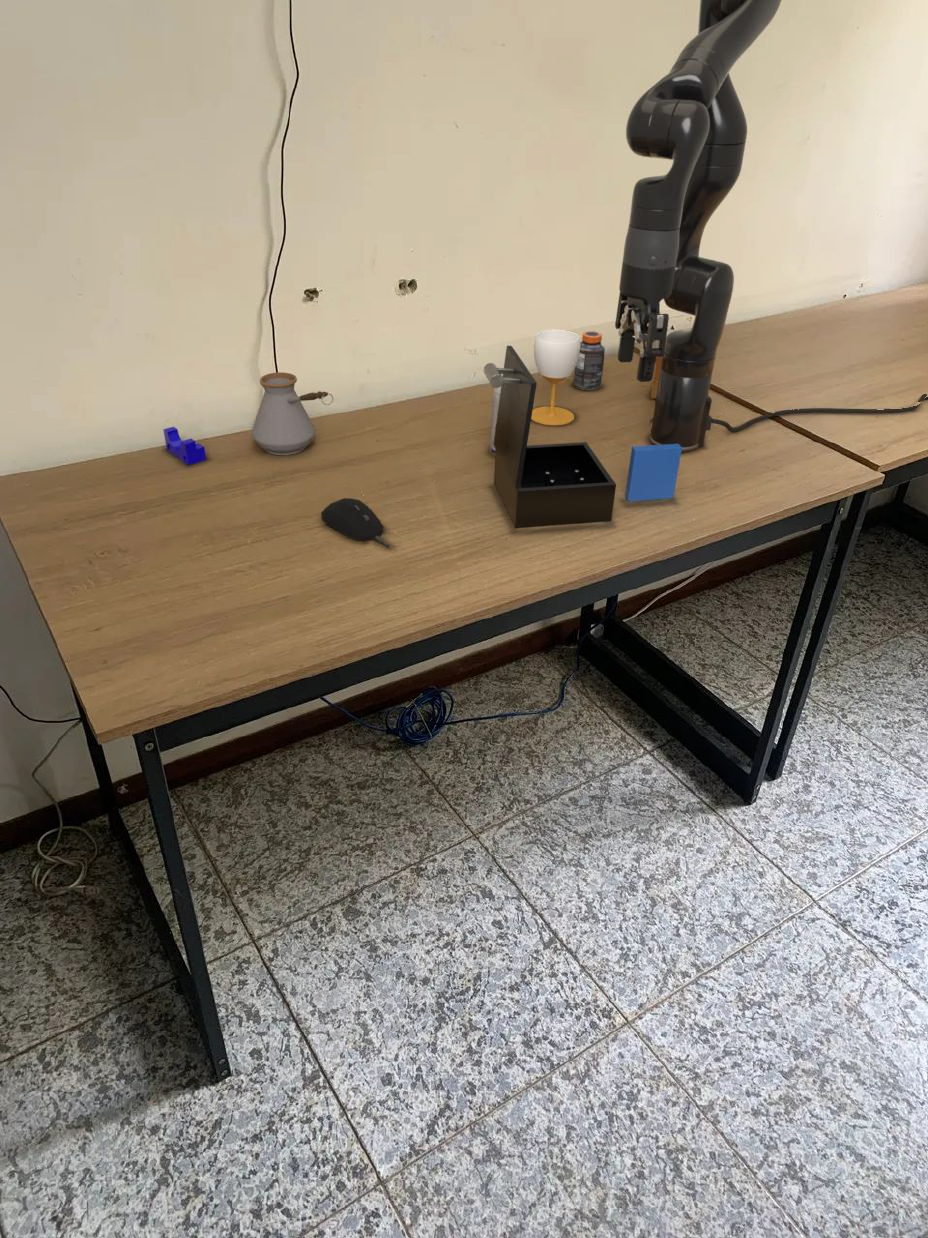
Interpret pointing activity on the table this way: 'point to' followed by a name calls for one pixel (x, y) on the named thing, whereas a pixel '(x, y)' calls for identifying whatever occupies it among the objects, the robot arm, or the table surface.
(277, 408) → the coffee pot
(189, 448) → the cable holder
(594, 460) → the black square open box
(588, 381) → the pill bottle
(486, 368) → the black lid with handle
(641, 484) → the blue lid
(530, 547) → the table surface
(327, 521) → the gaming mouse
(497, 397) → the energy drink
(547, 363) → the cup
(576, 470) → the rack
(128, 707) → the table surface
